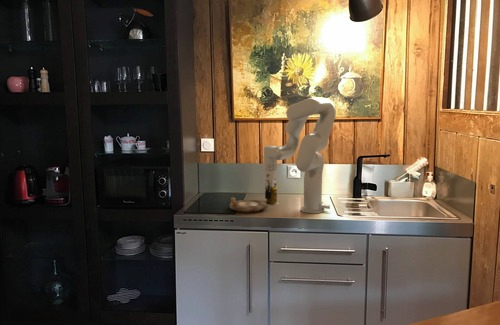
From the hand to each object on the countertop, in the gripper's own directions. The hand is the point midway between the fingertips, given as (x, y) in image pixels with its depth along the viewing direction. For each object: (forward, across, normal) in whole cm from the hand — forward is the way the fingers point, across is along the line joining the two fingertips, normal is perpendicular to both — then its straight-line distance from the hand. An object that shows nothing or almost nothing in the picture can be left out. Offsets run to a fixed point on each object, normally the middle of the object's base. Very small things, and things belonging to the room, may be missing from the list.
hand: (270, 196), depth 241 cm
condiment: (+4, 0, 0) cm, 4 cm away
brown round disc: (+2, -17, +8) cm, 19 cm away
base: (+4, -17, +8) cm, 19 cm away
